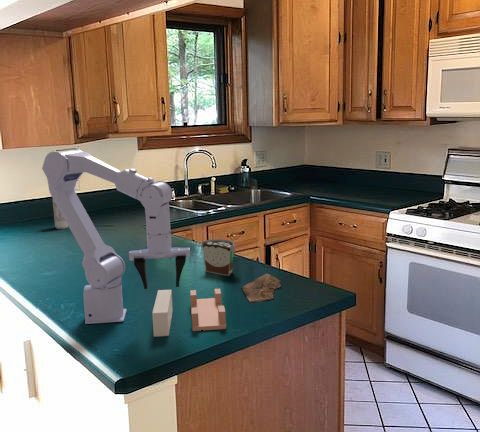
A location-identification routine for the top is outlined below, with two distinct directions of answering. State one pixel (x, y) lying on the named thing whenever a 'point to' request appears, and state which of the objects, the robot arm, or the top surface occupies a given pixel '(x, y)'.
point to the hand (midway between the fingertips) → (161, 286)
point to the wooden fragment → (261, 288)
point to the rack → (207, 312)
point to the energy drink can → (59, 218)
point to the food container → (218, 256)
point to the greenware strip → (162, 313)
